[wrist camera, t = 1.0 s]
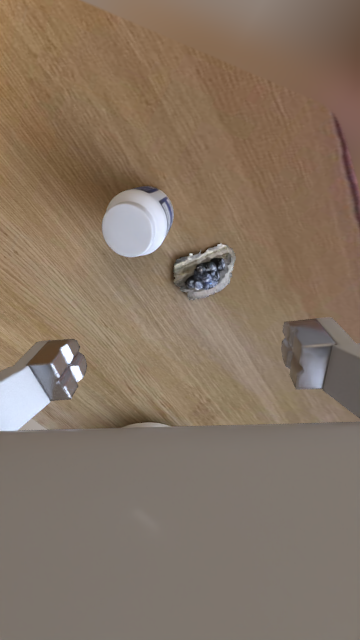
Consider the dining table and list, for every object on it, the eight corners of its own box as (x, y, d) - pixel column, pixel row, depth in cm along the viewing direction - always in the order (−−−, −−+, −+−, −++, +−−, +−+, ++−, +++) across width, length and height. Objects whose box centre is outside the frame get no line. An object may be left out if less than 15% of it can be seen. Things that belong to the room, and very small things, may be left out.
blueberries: (162, 270, 30) (160, 275, 28) (213, 224, 27) (213, 227, 25) (198, 306, 32) (198, 313, 30) (248, 268, 29) (251, 273, 27)
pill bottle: (117, 218, 27) (80, 238, 19) (141, 173, 25) (111, 173, 16) (157, 248, 28) (138, 278, 20) (183, 208, 26) (175, 224, 18)
